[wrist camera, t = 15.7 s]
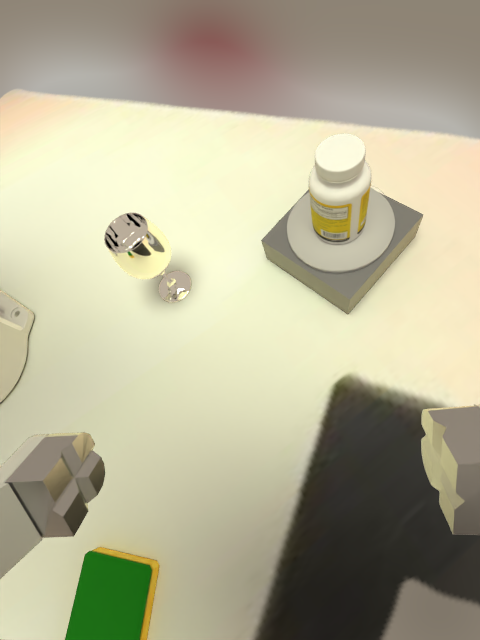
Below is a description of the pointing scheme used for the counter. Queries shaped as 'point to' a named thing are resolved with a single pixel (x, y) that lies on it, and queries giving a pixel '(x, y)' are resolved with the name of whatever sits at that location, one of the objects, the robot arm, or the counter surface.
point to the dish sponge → (113, 597)
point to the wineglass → (145, 254)
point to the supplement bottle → (339, 189)
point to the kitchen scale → (342, 249)
